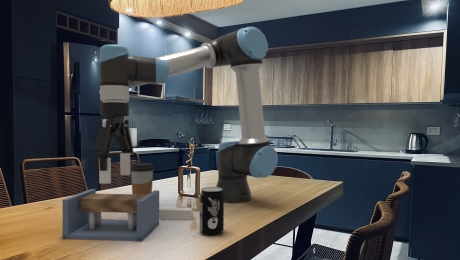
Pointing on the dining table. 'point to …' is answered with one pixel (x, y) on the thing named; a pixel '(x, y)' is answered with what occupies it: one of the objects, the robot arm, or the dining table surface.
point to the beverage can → (211, 211)
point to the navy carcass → (110, 220)
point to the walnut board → (110, 203)
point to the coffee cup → (142, 178)
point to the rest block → (175, 213)
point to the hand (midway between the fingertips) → (116, 179)
